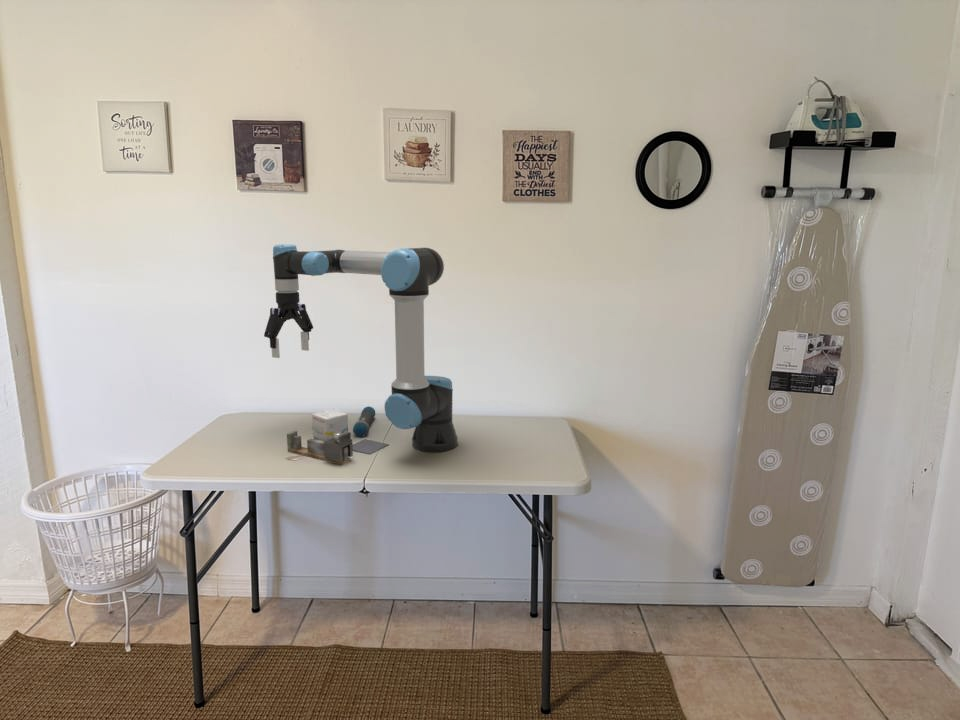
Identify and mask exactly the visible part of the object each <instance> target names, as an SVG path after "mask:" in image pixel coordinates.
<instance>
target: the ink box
mask: <svg viewBox="0 0 960 720" xmlns="http://www.w3.org/2000/svg"><path fill="white" fill-rule="evenodd" d="M348 415H349V414H348V413H345V412H343V411H341V410H339V409H335V408H331V409H325V410H321V411H318V412H315V413H312V414H311V422H312V439H315V440H320V441H324V442H325V441H327V440H329V439H332V438H334V433H335V432H342V435H343V434H345V433H348V432H349V416H348Z"/></svg>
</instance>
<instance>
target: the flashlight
mask: <svg viewBox="0 0 960 720" xmlns="http://www.w3.org/2000/svg"><path fill="white" fill-rule="evenodd" d="M375 416H376V410H375V408H374V407H372V406H369V405H368V406H366V407H364V408H363V410H361V413H360V416H359V418H358V421H356V422H355V423H354V425H353V428H352V432H353V434H354V435H355V436H356V437H359V438H362V437H364V436H366V435H367V433H368V431H369V427H370V424H371V423H372V421H373V420H374V419H375Z"/></svg>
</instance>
